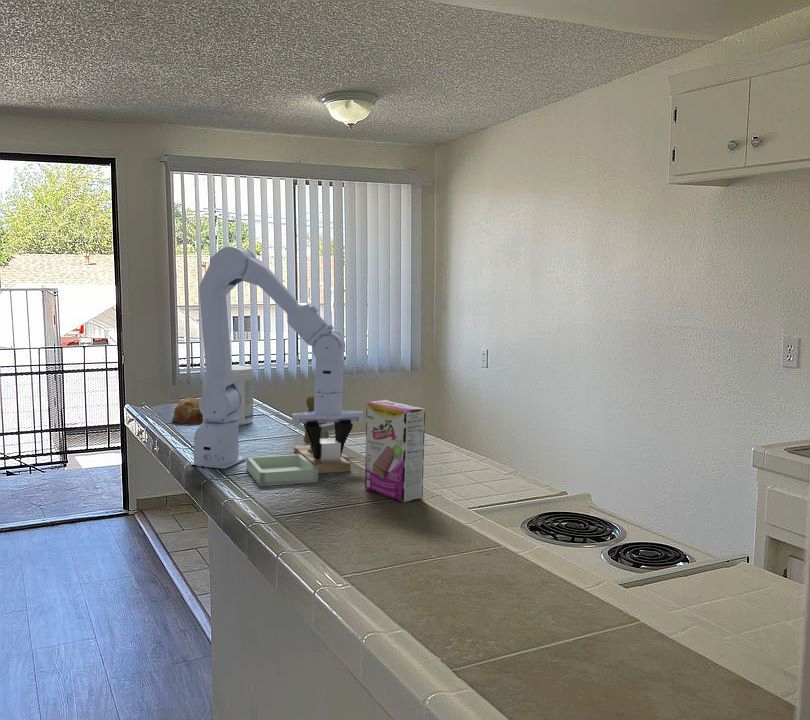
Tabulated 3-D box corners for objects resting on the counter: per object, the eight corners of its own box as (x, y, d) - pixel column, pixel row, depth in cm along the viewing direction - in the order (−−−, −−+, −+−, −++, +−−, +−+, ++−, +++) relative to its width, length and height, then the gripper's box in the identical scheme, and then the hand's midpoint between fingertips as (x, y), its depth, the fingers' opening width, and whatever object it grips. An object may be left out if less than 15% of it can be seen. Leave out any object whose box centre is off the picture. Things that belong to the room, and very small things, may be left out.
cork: (324, 443, 177) (325, 397, 176) (300, 441, 178) (301, 395, 177) (332, 438, 183) (333, 393, 182) (308, 436, 184) (309, 392, 183)
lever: (318, 450, 160) (318, 427, 159) (307, 448, 161) (307, 426, 161) (350, 441, 169) (350, 420, 169) (339, 439, 171) (339, 418, 171)
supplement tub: (242, 418, 206) (243, 364, 205) (259, 424, 199) (260, 368, 197) (209, 421, 200) (209, 366, 199) (225, 427, 193) (226, 370, 191)
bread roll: (177, 431, 205) (164, 405, 202) (212, 413, 208) (199, 387, 206) (183, 438, 196) (169, 411, 194) (219, 419, 199) (206, 393, 197)
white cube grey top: (314, 457, 156) (314, 439, 156) (333, 455, 158) (333, 438, 158) (321, 462, 152) (321, 444, 151) (340, 461, 153) (340, 442, 153)
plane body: (293, 453, 166) (293, 445, 166) (324, 451, 169) (324, 443, 169) (316, 473, 150) (316, 463, 149) (350, 470, 152) (350, 461, 152)
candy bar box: (362, 489, 139) (364, 401, 137) (383, 485, 142) (386, 399, 141) (402, 504, 131) (405, 410, 129) (424, 499, 134) (427, 407, 132)
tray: (246, 469, 151) (246, 457, 151) (300, 465, 155) (300, 453, 155) (260, 486, 139) (260, 473, 139) (318, 481, 143) (318, 468, 143)
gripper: (298, 395, 147) (297, 464, 148) (369, 393, 153) (367, 459, 154) (289, 390, 153) (288, 456, 155) (357, 388, 159) (356, 451, 160)
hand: (327, 457), depth 155 cm, fingers closed on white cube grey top, 4 cm apart
